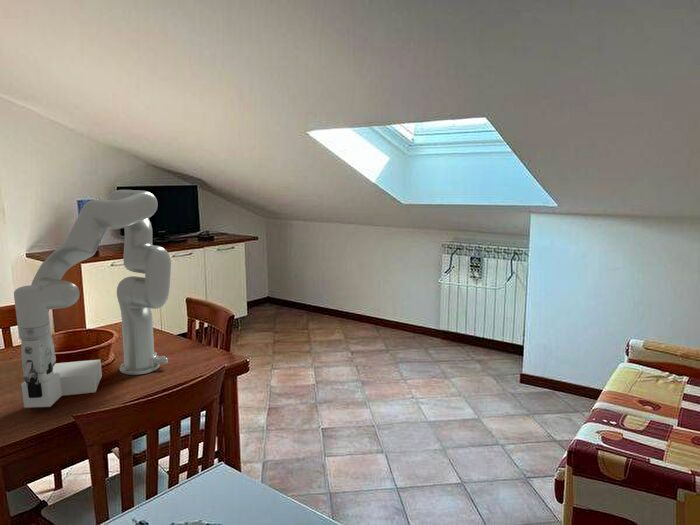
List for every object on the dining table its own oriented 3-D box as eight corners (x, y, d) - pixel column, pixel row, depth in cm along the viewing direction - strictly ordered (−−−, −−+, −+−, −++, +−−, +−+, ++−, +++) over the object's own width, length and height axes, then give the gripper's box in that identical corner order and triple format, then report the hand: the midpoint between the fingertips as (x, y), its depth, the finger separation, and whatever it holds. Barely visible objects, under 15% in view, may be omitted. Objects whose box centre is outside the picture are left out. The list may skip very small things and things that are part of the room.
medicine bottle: (36, 396, 149) (31, 357, 147) (62, 395, 150) (58, 356, 147) (23, 408, 142) (18, 367, 140) (50, 407, 143) (45, 366, 140)
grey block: (101, 376, 169) (100, 359, 168) (95, 393, 156) (94, 374, 155) (56, 381, 165) (55, 363, 164) (47, 398, 152) (45, 379, 151)
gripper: (35, 340, 134) (43, 404, 137) (61, 320, 151) (68, 377, 154) (4, 342, 133) (12, 406, 136) (34, 321, 150) (40, 378, 153)
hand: (41, 390), depth 145 cm, fingers closed on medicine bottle, 7 cm apart
